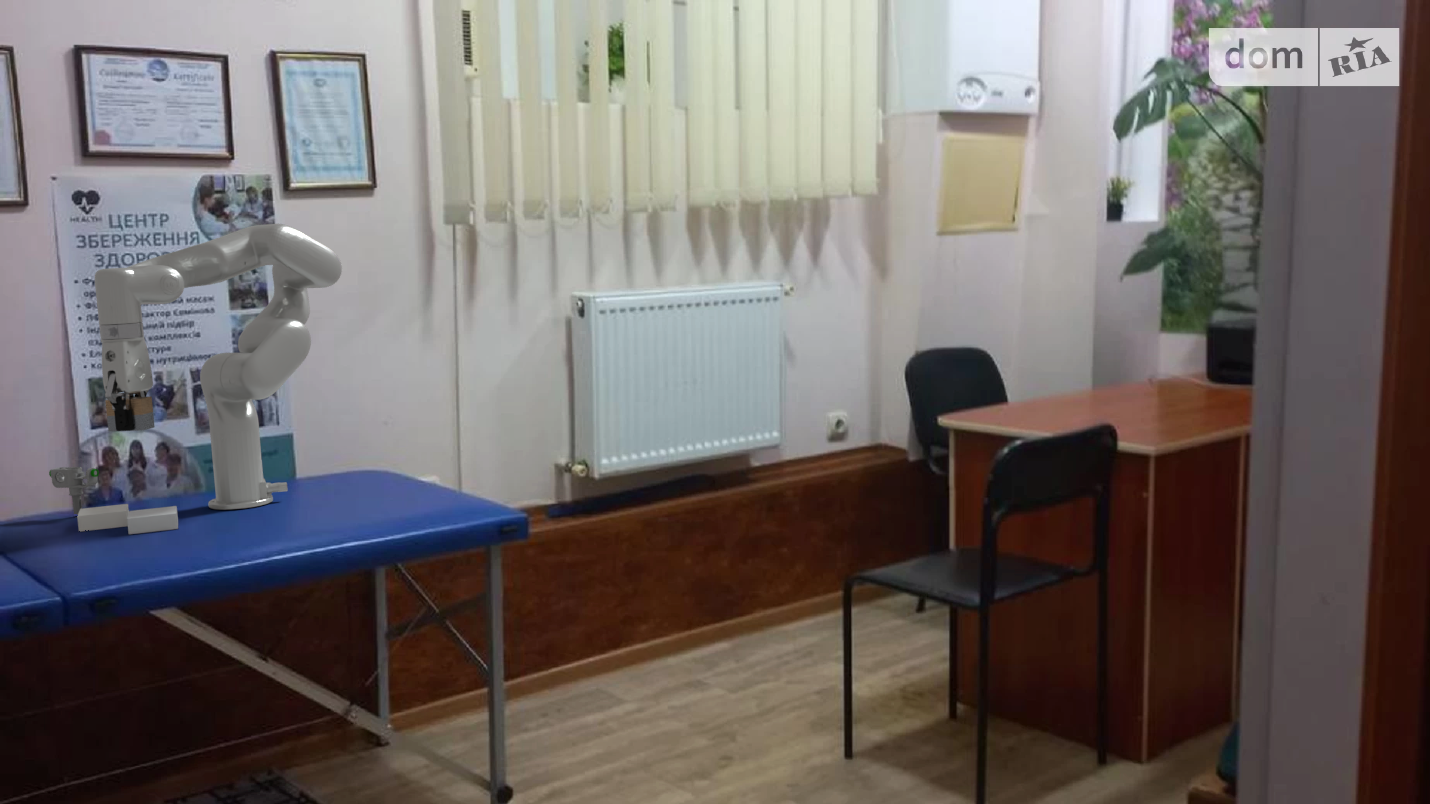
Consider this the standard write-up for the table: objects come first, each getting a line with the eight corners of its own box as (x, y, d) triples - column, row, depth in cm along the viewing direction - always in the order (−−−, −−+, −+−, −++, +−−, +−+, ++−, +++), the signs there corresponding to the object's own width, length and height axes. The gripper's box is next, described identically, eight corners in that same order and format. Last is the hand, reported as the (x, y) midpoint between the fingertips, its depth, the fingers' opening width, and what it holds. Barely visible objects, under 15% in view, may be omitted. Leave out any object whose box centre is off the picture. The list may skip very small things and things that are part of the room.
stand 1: (129, 518, 257) (128, 503, 257) (128, 526, 249) (126, 511, 249) (81, 523, 254) (80, 508, 254) (78, 531, 246) (77, 516, 246)
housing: (154, 427, 248) (151, 391, 247) (143, 430, 244) (140, 393, 243) (119, 428, 248) (116, 392, 247) (108, 431, 244) (104, 395, 243)
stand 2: (178, 520, 252) (176, 505, 252) (178, 528, 244) (176, 513, 244) (130, 526, 249) (128, 511, 249) (128, 534, 241) (127, 518, 241)
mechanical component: (95, 518, 259) (90, 469, 258) (51, 518, 261) (46, 469, 260) (105, 514, 262) (100, 466, 261) (61, 515, 264) (56, 467, 263)
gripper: (117, 335, 235) (127, 434, 237) (163, 329, 252) (172, 422, 254) (78, 337, 236) (88, 436, 238) (126, 331, 252) (135, 423, 254)
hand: (131, 427), depth 246 cm, fingers closed on housing, 4 cm apart
